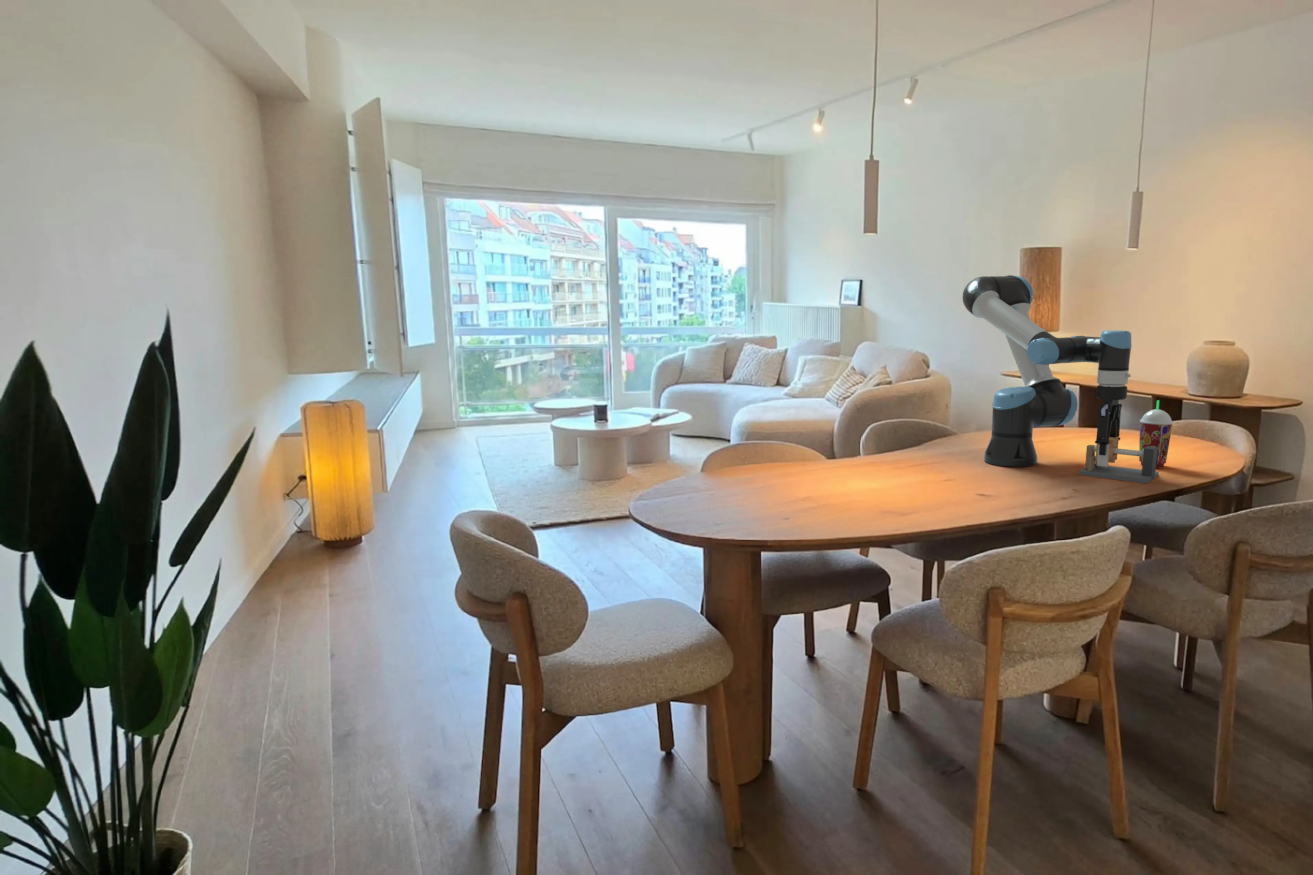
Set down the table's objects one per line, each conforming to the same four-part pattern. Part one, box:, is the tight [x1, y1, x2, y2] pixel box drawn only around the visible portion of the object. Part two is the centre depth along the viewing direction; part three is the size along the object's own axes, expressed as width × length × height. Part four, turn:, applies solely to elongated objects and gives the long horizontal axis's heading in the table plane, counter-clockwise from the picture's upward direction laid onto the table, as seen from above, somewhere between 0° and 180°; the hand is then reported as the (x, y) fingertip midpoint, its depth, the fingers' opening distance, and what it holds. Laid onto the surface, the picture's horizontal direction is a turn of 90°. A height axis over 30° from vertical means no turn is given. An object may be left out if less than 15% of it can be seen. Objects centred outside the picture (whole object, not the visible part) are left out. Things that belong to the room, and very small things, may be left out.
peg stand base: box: [1079, 444, 1160, 484], centre depth 216 cm, size 17×12×9 cm
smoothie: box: [1138, 399, 1174, 469], centre depth 225 cm, size 8×8×20 cm
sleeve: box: [1095, 436, 1120, 464], centre depth 218 cm, size 4×6×6 cm, turn 134°
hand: (1105, 463), depth 219 cm, fingers closed on sleeve, 6 cm apart
